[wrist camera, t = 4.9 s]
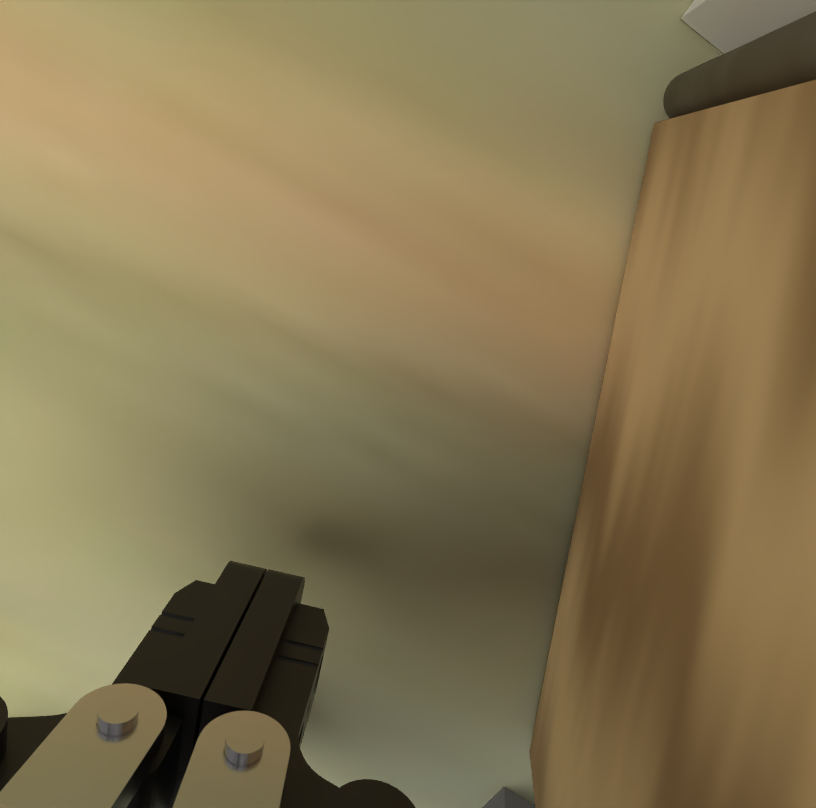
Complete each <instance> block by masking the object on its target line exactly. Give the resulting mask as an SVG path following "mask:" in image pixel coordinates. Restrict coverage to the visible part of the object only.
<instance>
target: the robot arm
mask: <svg viewBox="0 0 816 808" xmlns="http://www.w3.org/2000/svg"><path fill="white" fill-rule="evenodd" d="M304 582H305V578H304V577H300V576H295V575H291V574H286V573H282V572H278V571H273V570H268V571H267V569H264V568H260V567H255V566H251V565H246V564H242V563H238V562H233V561H230V562H229V563H228V564H227V566H226V567H225V569H224V571H223V572H222V574H221V576H220V577H219V579H218V580H217V582H216V584H210V583H206V582H201V581H197V580H196V581H194V582H192V583H191V584H189V585H188V586H186V587H184V588H183V589H181V590H179V591H178V592H176V593H175V594H174V595H173V597H172V598H171V600H170V601H169V602H168V604H167V605H166V607H165V608H164V610H163V611H162V614H161V615H159V617H158V618H157V620H156V621H155V623H154V624H153V626H152V628H151V630H149V631H148V633H147V634H146V636H145V637H144V639H143V640H142V642H141V643H140V644H139V646H138V647H137V649H136V650H135V652H134V653H133V655H132V656H131V658H130V659H129V660H128V662H127V663H126V665H125V666H124V668H123V669H122V671H121V672H120V673H119V675H118V676H117V678H116V679H115V681H114V682H113V684H112V685H108V686H104V687H101V688H98V689H96V690H94V691H92V692H90V693H88V694H86V695H85V696H84V697H82V698H81V699H80V700H79V701H78V702H77V703H76V704H75V705H74V706H73V707H72V708H71V709H70V711H69V712H68V713H65V714H60V715H53V716H39V717H15V718H8V710H7V706H6V703H5V702H4V700H3V699H2V698H1V697H0V808H415V806H414V805H413V804H412V802H411V801H410V800H409V798H408V797H407V796H406V795H404V794H403V793H402V792H401V791H400V790H398V789H397V788H395V787H393V786H391V785H390V784H387V783H384V782H382V781H377V780H370V779H363V780H356V781H352V782H349V783H347V784H345V785H343V786H341V787H340V788H339V787H337V786H335V785H334V784H332V783H330V782H328V781H327V780H325V779H324V778H322V777H321V776H319V775H318V774H317V773H316V772H315V771H313V770H312V769H311V767H310V766H309V765H308V764H307V762H306V761H305V759H304V757H303V755H302V753H301V750H300V746H301V742H302V739H303V735H304V731H305V728H306V724H307V721H308V717H309V713H310V710H311V707H312V703H313V700H314V696H315V692H316V688H317V684H318V679H319V674H320V669H321V665H322V660H323V655H324V651H325V646H326V641H327V636H328V632H329V626H328V623H327V619H326V616H325V613H324V609H320V608H316V607H312V606H307V605H303V604H301V599H302V594H303V589H304Z"/></svg>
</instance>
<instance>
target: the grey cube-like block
mask: <svg viewBox="0 0 816 808" xmlns="http://www.w3.org/2000/svg"><path fill="white" fill-rule="evenodd" d="M482 808H535V806H534V805H533V804H531V803H529V802H528V801H526V800H525V799H523V798H521V797H520V796H518V795H516V794H515V793H513V792H512V791H510V790H508V789H507V788H505V787H503V788H502V789H501V790H500V791H499V792H498V793H497V794H496V795H495V796H494V797H493V798H492V799H491V800H490V801H489V802H488V803H487V804H485V805H484V806H483V807H482Z"/></svg>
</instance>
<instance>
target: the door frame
mask: <svg viewBox="0 0 816 808" xmlns="http://www.w3.org/2000/svg"><path fill="white" fill-rule="evenodd" d="M815 11H816V0H694V1H693V2H692V4H691V5H690V6H689V8H688V9H687V10H686V12H685V13H684V15H683V16H682V17H681V20H683V21H684V22H685V23H686V24H688V25H689V26H690V27H691V28H693V29H694V30H695V31H696V32H698V33H699V34H700V35H701V36H702V37H704V38H705V39H706V40H707V41H709V42H710V43H711V44H712V45H714V46H715V47H716V48H717V49H718V50H720V51H721V52H722V53H723V54H725V53H727V52H729V51H731V50H734V49H736V48H738V47H740V46H742V45H744V44H746V43H749V42H751V41H753V40H755V39H757V38H759V37H761V36H764V35H766V34H768V33H770V32H772V31H774V30H776V29H779V28H781V27H783V26H785V25H787V24H789V23H792V22H794V21H796V20H798V19H800V18H802V17H804V16H807V15H809V14H811V13H813V12H815Z"/></svg>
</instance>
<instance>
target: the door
mask: <svg viewBox="0 0 816 808" xmlns="http://www.w3.org/2000/svg"><path fill="white" fill-rule="evenodd" d="M664 108H665V111H666V113H667V115H668V116H669V118H670V119H667V120H663V121H660V122H656V123H654V127H653V132H652V137H651V142H650V147H649V152H648V157H647V162H646V167H645V173H644V178H643V183H642V188H641V193H640V198H639V203H638V208H637V213H636V218H635V223H634V228H633V233H632V238H631V243H630V248H629V253H628V258H627V263H626V268H625V273H624V278H623V283H622V288H621V293H620V298H619V303H618V308H617V314H616V319H615V324H614V329H613V334H612V339H611V344H610V349H609V354H608V359H607V364H606V369H605V374H604V379H603V384H602V389H601V394H600V399H599V404H598V409H597V414H596V419H595V424H594V429H593V434H592V439H591V444H590V449H589V455H588V460H587V465H586V470H585V475H584V480H583V485H582V490H581V495H580V500H579V505H578V510H577V515H576V520H575V525H574V530H573V535H572V540H571V545H570V550H569V555H568V560H567V565H566V570H565V575H564V580H563V585H562V590H561V596H560V601H559V606H558V611H557V616H556V621H555V626H554V631H553V636H552V641H551V646H550V651H549V656H548V661H547V666H546V671H545V676H544V681H543V686H542V691H541V696H540V701H539V706H538V711H537V716H536V721H535V726H534V731H533V737H532V742H531V747H530V760H531V769H532V779H533V789H534V798H535V808H816V11H815V12H813V13H811V14H809V15H807V16H804V17H802V18H800V19H798V20H796V21H794V22H792V23H789V24H787V25H785V26H783V27H781V28H779V29H776V30H774V31H772V32H770V33H768V34H766V35H764V36H761V37H759V38H757V39H755V40H753V41H751V42H749V43H746V44H744V45H742V46H740V47H738V48H736V49H734V50H731V51H729V52H727V53H725V54H723V55H721V56H718V57H716V58H714V59H712V60H710V61H708V62H706V63H703V64H701V65H699V66H697V67H695V68H693V69H691V70H688V71H686V72H684V73H682V74H680V75H678V76H677V77H675V78H674V79H673V80H672V81H671V82H670V84H669V85H668V87H667V89H666V91H665V94H664Z"/></svg>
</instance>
